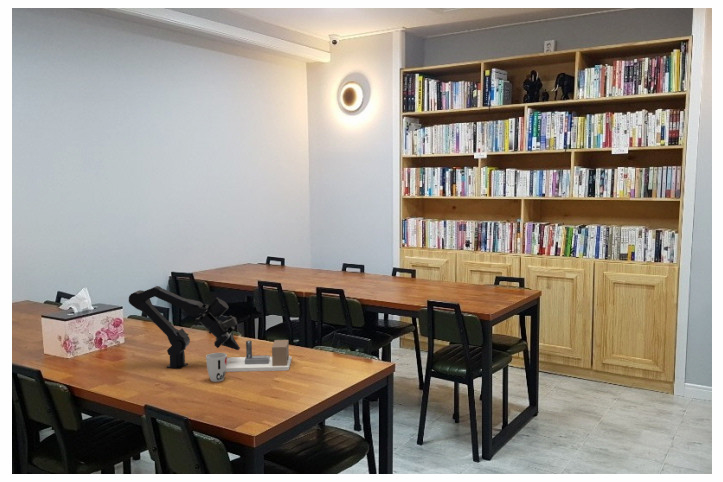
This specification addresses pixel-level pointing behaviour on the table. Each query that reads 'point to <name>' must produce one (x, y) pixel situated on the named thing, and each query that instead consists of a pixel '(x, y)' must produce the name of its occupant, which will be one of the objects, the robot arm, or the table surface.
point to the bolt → (249, 352)
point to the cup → (216, 366)
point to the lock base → (263, 360)
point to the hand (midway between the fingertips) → (239, 349)
